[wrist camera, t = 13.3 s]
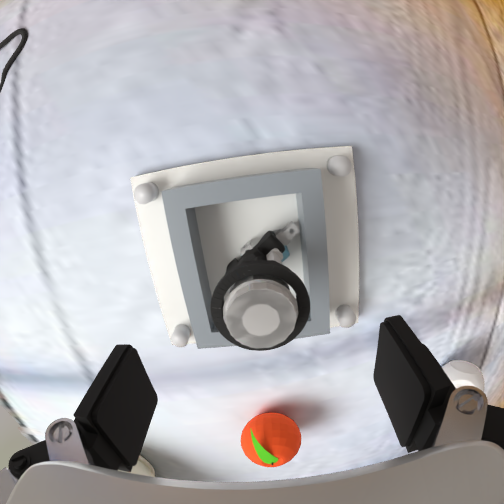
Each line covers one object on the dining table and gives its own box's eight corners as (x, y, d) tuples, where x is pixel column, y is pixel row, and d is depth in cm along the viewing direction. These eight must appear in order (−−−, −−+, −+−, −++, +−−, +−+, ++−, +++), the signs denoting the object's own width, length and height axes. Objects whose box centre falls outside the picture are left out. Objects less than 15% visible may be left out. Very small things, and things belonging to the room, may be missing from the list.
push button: (272, 199, 22) (286, 228, 13) (315, 246, 24) (353, 303, 14) (211, 255, 24) (186, 317, 14) (256, 297, 25) (258, 375, 15)
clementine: (225, 408, 31) (220, 455, 24) (277, 387, 30) (281, 437, 23) (259, 439, 33) (260, 482, 26) (307, 422, 32) (314, 466, 25)
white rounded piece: (420, 364, 29) (447, 405, 22) (467, 338, 28) (498, 371, 21) (420, 400, 31) (441, 438, 24) (462, 377, 31) (487, 410, 23)
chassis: (347, 146, 22) (365, 144, 18) (354, 317, 27) (368, 340, 23) (134, 176, 23) (114, 180, 19) (174, 339, 28) (164, 363, 24)
